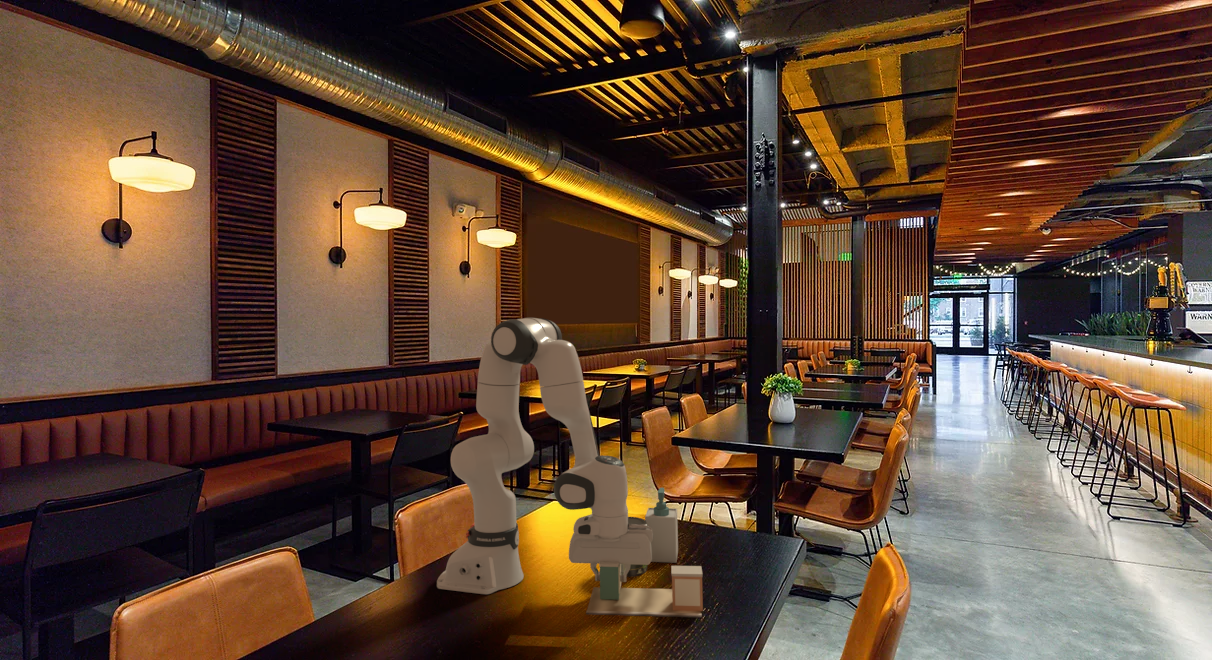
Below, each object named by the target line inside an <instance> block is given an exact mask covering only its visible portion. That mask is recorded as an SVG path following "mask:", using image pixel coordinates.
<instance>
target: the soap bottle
mask: <svg viewBox="0 0 1212 660" xmlns="http://www.w3.org/2000/svg"><path fill="white" fill-rule="evenodd" d="M657 499H658V501H657V502H656V505H655V506H654V507H648V508H647V510H646V514H645V516H644V520H645V521H646V522H647V526H648V527H650V528H651V529H652V531H653V540H652V542H651V549H652V561H651V562H652V563H673V564H674V563H675V564H677V560H678V553H679V540H678V539H679V537H678V536H679V533H678V530H679V529H678V508H671V507H670V508H669V506H667V503H666V502H665V501H664V499H665V488H664V487H660V488H659V489H658V490H657ZM647 529H649V528H647ZM651 562H650V563H651Z"/></svg>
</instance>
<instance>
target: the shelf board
mask: <svg viewBox="0 0 1212 660" xmlns="http://www.w3.org/2000/svg"><path fill="white" fill-rule="evenodd" d="M585 615H599V616H604V615H605V616H631V617H632V616H634V617H636V616H637V617H638V616H639V617H666V618H667V617H668V618H669V617H670V618H671V617H672V618H673V617H675V618H678V617H679V618H703V615H702V611H679V610H673V599H672V588H643V587H642V588H641V587H639V588H638V587H636V588H635V587H621V588H620V595H619V600H613V599H600V586H599V587H598V586H597V587H593V588H592V593H591V596H590V599H589V603H588V605H587V610H586V611H585Z"/></svg>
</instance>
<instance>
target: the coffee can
mask: <svg viewBox="0 0 1212 660" xmlns="http://www.w3.org/2000/svg"><path fill="white" fill-rule="evenodd" d="M628 524H637V525H641V524H645V525H647V522H646V521H645V518H640V517H638V516H637V517H636V516H628ZM628 530H629V528H628ZM625 569H626V568H625V566H624V564H621V572H624V571H625ZM647 571H648V565H636V564H631V567H630V570H629V572H628V573H627V575H626V578H628V577H629V578H630V577H638V576H641V575H644V574H645V573H646V572H647Z"/></svg>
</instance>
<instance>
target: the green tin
mask: <svg viewBox="0 0 1212 660" xmlns="http://www.w3.org/2000/svg"><path fill="white" fill-rule="evenodd" d="M598 565H599V572H600V581H599V587H600V599H613V600H619V595H620V588H622V582H620V572H621V564H619V562H610V561H600V563H599V564H598Z"/></svg>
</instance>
